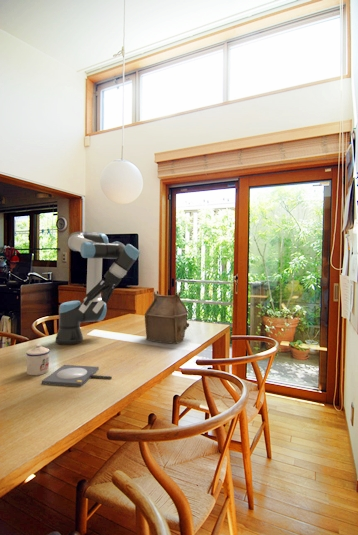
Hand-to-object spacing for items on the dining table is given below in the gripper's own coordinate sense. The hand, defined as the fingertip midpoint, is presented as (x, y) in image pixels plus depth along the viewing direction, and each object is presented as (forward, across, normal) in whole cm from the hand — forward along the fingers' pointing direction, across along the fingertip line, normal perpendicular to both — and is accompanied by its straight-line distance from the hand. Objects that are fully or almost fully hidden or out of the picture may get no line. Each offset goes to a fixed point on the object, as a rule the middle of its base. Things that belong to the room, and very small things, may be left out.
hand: (88, 311), depth 138 cm
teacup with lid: (+31, -7, -1) cm, 32 cm away
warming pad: (+20, -10, -19) cm, 29 cm away
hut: (-2, +56, -30) cm, 63 cm away
